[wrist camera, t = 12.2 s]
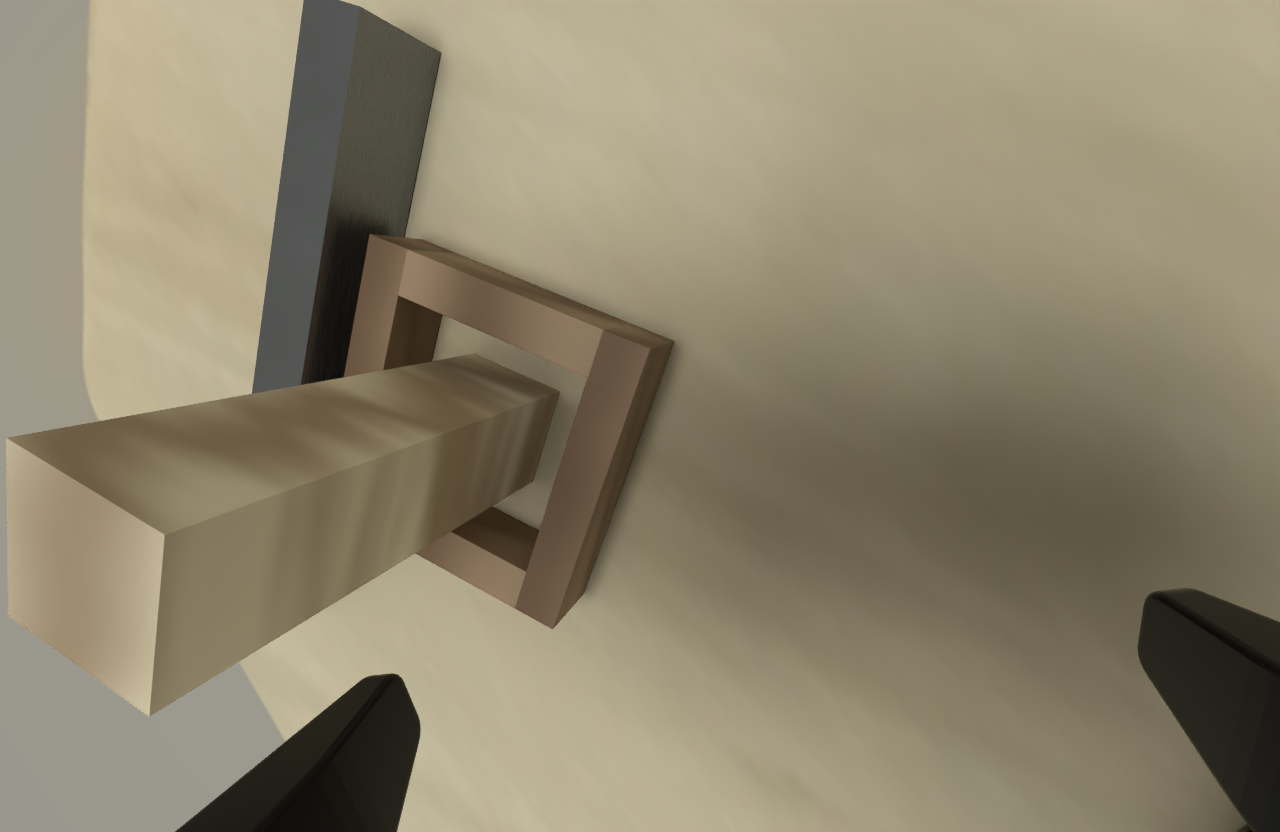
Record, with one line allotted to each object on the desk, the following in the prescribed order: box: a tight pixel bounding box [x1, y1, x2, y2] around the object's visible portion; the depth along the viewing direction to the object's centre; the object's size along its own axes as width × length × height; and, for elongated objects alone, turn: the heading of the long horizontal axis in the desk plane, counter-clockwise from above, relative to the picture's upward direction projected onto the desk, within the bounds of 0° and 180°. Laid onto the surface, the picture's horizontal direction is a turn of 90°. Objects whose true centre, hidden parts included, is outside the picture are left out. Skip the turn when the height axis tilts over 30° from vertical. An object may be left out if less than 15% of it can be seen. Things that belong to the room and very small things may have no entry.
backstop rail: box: [252, 0, 441, 394], centre depth 22 cm, size 2×22×4 cm, turn 160°
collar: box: [344, 234, 674, 629], centre depth 21 cm, size 10×10×2 cm
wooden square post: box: [6, 354, 559, 716], centre depth 16 cm, size 4×4×13 cm
